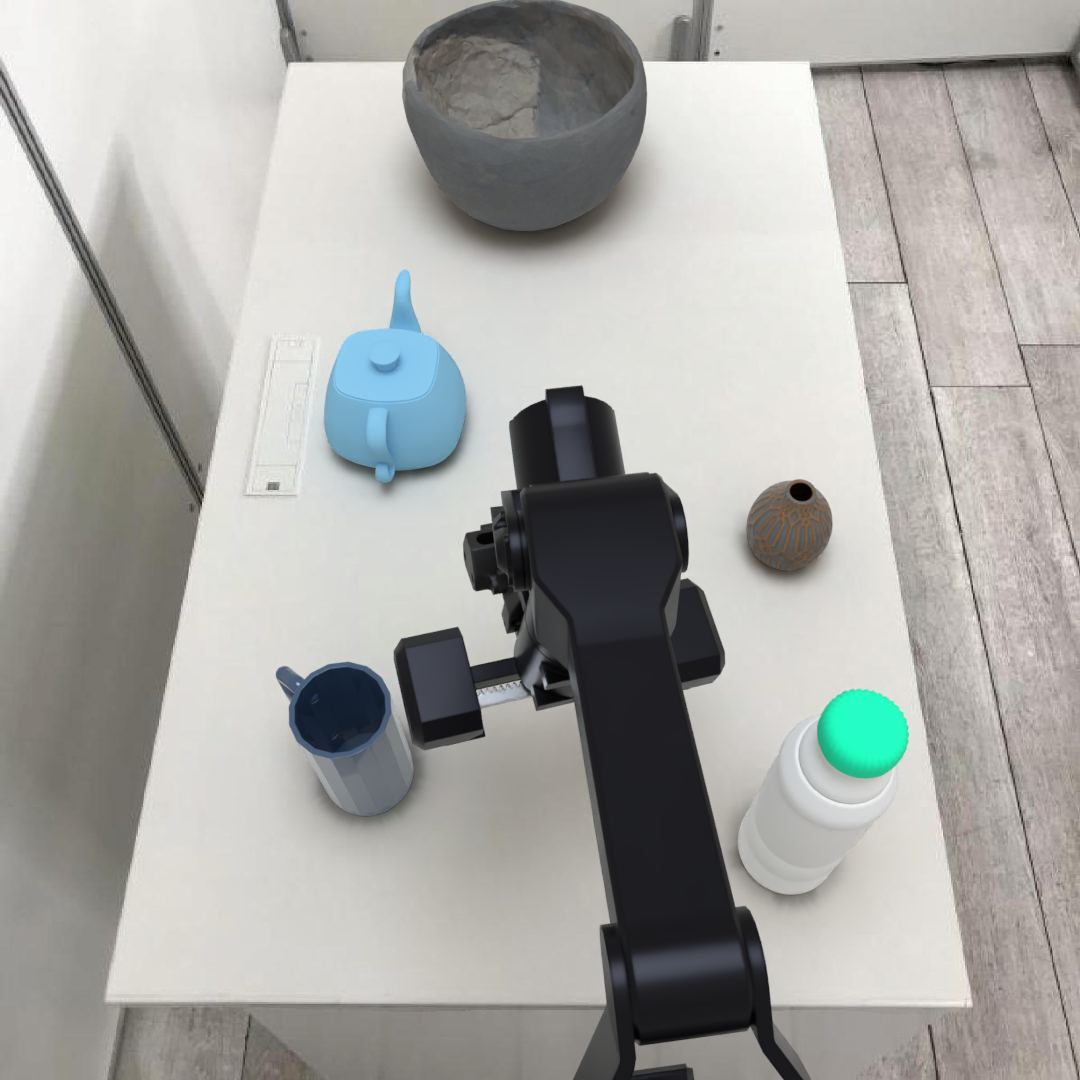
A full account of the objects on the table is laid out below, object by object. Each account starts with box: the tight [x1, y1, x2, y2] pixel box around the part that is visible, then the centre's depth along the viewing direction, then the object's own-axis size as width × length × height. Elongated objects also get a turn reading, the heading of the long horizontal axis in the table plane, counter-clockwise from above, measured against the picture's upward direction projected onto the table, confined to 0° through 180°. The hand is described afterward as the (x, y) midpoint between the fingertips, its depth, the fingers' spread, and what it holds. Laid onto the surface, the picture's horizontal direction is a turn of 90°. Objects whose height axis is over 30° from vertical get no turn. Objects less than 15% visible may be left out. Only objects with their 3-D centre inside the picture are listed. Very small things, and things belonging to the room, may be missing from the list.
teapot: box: [323, 269, 467, 484], centre depth 95 cm, size 13×11×18 cm
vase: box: [746, 478, 834, 571], centre depth 88 cm, size 7×7×9 cm
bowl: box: [401, 0, 648, 232], centre depth 109 cm, size 24×24×15 cm
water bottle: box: [737, 688, 910, 896], centre depth 68 cm, size 7×7×25 cm
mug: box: [275, 661, 414, 817], centre depth 77 cm, size 10×7×13 cm
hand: (543, 700), depth 70 cm, fingers open, 9 cm apart
